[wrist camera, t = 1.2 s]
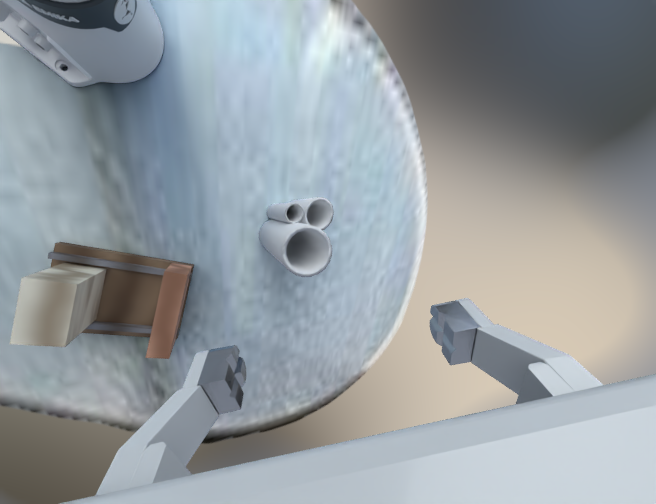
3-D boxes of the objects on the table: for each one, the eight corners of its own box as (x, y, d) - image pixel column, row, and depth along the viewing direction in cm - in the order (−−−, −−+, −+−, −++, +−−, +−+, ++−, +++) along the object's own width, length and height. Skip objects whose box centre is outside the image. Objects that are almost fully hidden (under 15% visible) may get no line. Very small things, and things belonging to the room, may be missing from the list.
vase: (284, 257, 52) (318, 285, 34) (250, 241, 49) (267, 262, 31) (310, 206, 53) (358, 206, 34) (278, 187, 50) (311, 176, 31)
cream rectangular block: (54, 315, 39) (9, 344, 31) (64, 262, 39) (21, 277, 30) (96, 318, 41) (65, 346, 33) (106, 268, 41) (77, 284, 32)
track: (45, 325, 40) (6, 351, 33) (61, 242, 40) (24, 250, 32) (178, 335, 47) (170, 358, 40) (194, 264, 47) (189, 275, 39)
